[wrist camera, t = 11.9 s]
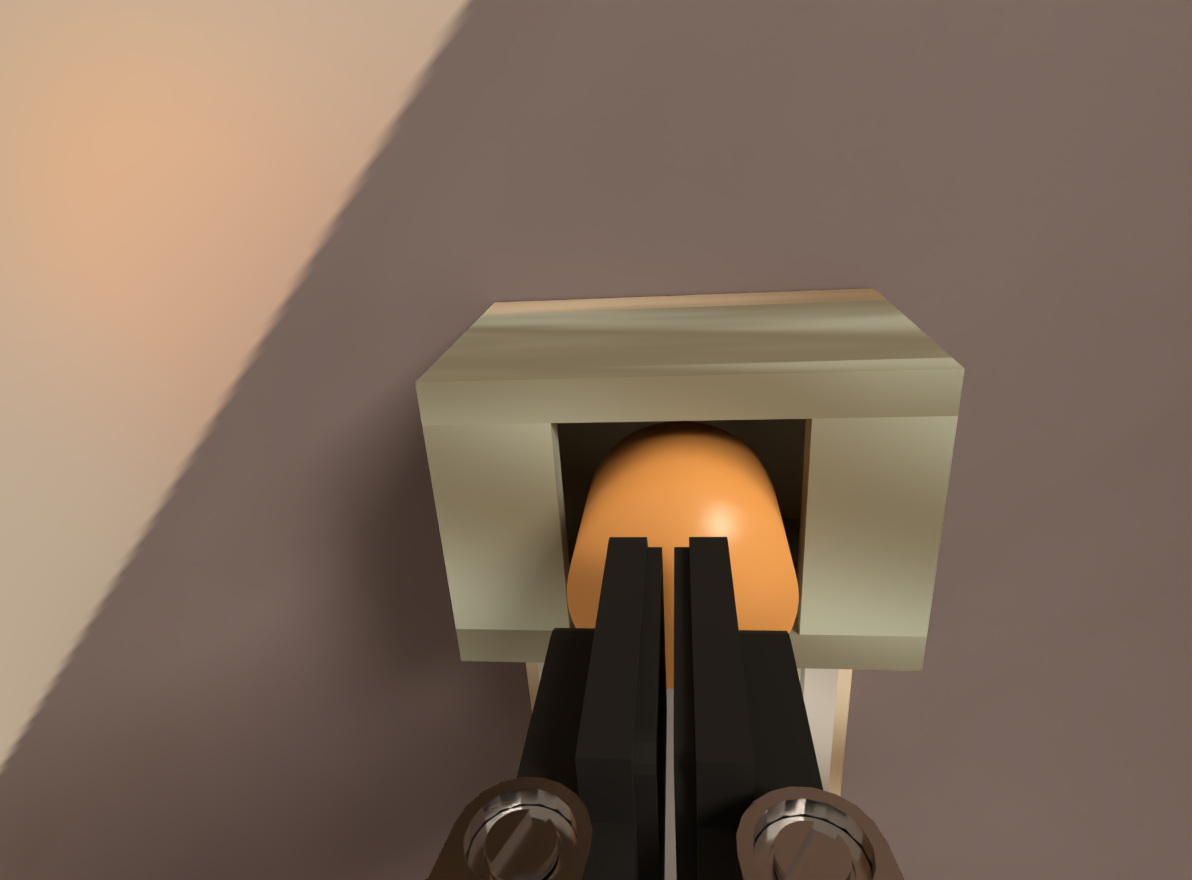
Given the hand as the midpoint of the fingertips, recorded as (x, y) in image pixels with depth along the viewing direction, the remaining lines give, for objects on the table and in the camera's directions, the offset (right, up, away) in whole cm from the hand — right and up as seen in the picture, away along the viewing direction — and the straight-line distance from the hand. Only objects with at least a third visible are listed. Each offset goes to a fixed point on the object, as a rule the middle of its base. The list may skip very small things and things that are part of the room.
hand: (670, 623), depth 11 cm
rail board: (+2, -6, +12) cm, 14 cm away
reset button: (+1, +1, +4) cm, 4 cm away
